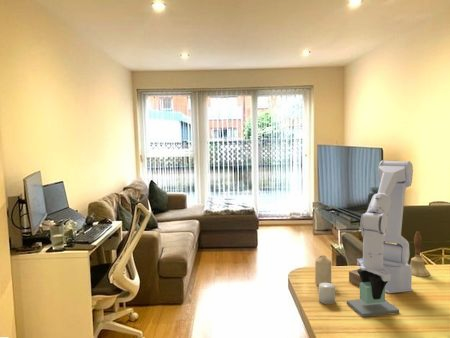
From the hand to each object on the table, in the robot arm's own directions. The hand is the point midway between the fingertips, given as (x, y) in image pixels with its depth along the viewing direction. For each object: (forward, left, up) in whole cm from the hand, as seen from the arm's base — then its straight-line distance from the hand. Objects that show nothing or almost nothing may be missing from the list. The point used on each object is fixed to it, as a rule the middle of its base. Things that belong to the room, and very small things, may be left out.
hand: (372, 295), depth 112 cm
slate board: (0, 0, -4) cm, 4 cm away
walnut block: (-7, -19, -4) cm, 21 cm away
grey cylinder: (+11, -8, -4) cm, 14 cm away
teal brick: (0, 0, -1) cm, 1 cm away
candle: (+6, -21, -4) cm, 22 cm away
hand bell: (-34, -23, -4) cm, 41 cm away
